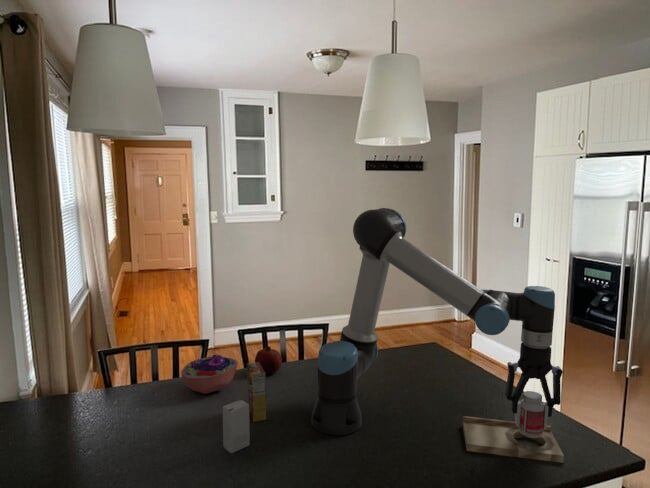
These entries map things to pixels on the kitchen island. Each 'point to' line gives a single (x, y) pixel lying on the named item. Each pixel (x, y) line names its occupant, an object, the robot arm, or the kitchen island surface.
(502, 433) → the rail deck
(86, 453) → the kitchen island surface
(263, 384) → the candy box
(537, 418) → the pill bottle
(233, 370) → the cell model
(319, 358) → the robot arm
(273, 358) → the fruit
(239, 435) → the skincare box
